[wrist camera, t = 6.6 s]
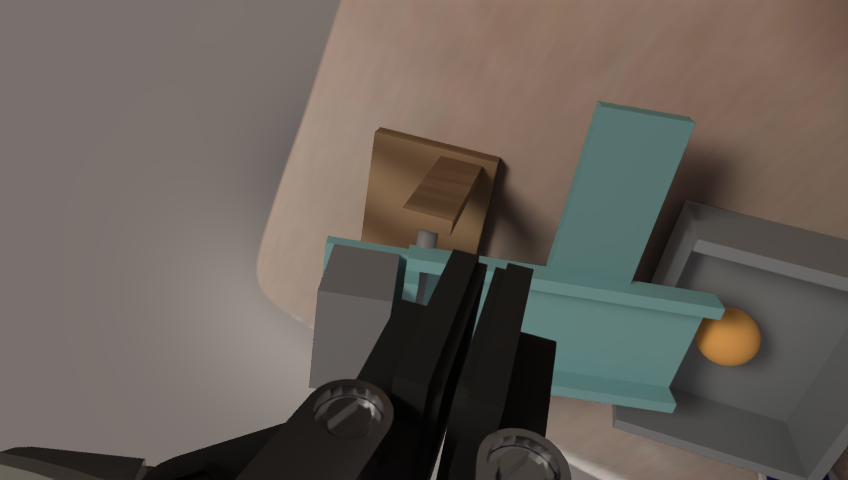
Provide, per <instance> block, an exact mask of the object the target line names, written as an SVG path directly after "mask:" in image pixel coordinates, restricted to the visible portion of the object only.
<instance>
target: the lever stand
mask: <svg viewBox="0 0 848 480" xmlns="http://www.w3.org/2000/svg"><path fill="white" fill-rule="evenodd" d="M499 162H500V157H496V156H492V155H488V154H484V153H480V152H477V151H473V150H469V149H465V148H461V147H457V146H453V145H449V144H445V143H441V142H437V141H433V140H429V139H425V138H421V137H417V136H413V135H409V134H405V133H401V132H397V131H393V130H389V129H385V128H381V127H380V128H379V129H378V130H377V131H375V136H374V143H373V151H372V159H371V167H370V175H369V183H368V190H367V198H366V206H365V214H364V222H363V230H362V237H361V241H362V242H368V243H375V244H381V245H387V246H393V247H399V248H405V249H409V246H410V244H411V245H416V243H417V238H418V232H419V229H423V230H426V231H430V232H433V233H437V234H438V239H437V244H436V249H441V250H447V251H453V249H457V250H460V251H464V252H468V253H472V254H476V255H477V252H478V248H479V244H480V240H481V236H482V232H483V228H484V223H485V219H486V215H487V211H488V207H489V203H490V199H491V195H492V190H493V186H494V182H495V178H496V174H497V170H498V166H499Z"/></svg>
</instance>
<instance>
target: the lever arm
mask: <svg viewBox="0 0 848 480" xmlns="http://www.w3.org/2000/svg"><path fill="white" fill-rule="evenodd" d="M694 126H695V122H694V121H693V120H692V119H691V118H689V117H686V116H680V115H674V114H669V113H663V112H657V111H652V110H646V109H640V108H635V107H629V106H623V105H618V104H612V103H606V102H600V101H597V105H596V108H595V111H594V114H593V117H592V121H591V124H590V127H589V130H588V133H587V136H586V140H585V143H584V146H583V149H582V152H581V156H580V159H579V162H578V165H577V168H576V172H575V175H574V178H573V181H572V184H571V187H570V191H569V194H568V197H567V200H566V203H565V207H564V210H563V213H562V216H561V219H560V222H559V226H558V229H557V232H556V235H555V238H554V242H553V245H552V248H551V251H550V254H549V258H548V261H547V264H546V266H540V265H534V264H527V263H521V262H515V261H509V260H503V259H497V258H491V257H484V256H479V262H480V263H483V264H487V265H488V267H487V272H486V277H485V281H484V286H483V291H482V295H481V300H480V304H479V309H478V313H477V318H476V323H475V327H474V332H475V329H476V326H477V323H478V320H479V317H480V314H481V311H482V307H483V304H484V301H485V298H486V295H487V292H488V289H489V286H490V283H491V280H492V277H493V274H494V271H495V268H496V267H499V268H503V269H506V267H507V264H508V263H512V264H516V265H520V266H524V267H528V268H532V269H534V271H533V276H532V281H531V285H530V290H529V295H528V299H527V304H526V308H525V313H524V318H523V322H522V327H521V332H524V333H528V334H532V335H536V336H539V337H543V338H547V339H550V340H554V341H556V342H557V346H556V355H555V363H554V371H553V379H552V387H551V395H556V396H562V397H569V398H575V399H582V400H588V401H595V402H601V403H608V404H614V405H621V406H628V407H634V408H641V409H647V410H654V411H660V412H667V413H673V411H674V409H675V407H676V405H677V404H676V402H675V400H674V398H673V396H672V393H671V391H670V389H669V386H670V384H671V382H672V380H673V378H674V376H675V374H676V372H677V370H678V368H679V366H680V364H681V362H682V360H683V358H684V356H685V354H686V352H687V350H688V348H689V346H690V343H691V341H692V339H693V337H694V335H695V333H696V331H697V329H698V327H699V325H700V323H701V321H702V319H703V317H704V318H710V319H716V320H720V319H721V317H722V315H723V313H724V311H725V308H724V306H723V305H722V303H721V302H720V301H719V299H718V298H717V296H716V295H715V294H712V293H706V292H700V291H694V290H687V289H681V288H675V287H669V286H663V285H657V284H650V283H644V282H638V281H632V279H633V276H634V274H635V271H636V269H637V267H638V264H639V262H640V259H641V257H642V254H643V252H644V249H645V247H646V244H647V242H648V239H649V237H650V234H651V232H652V229H653V227H654V225H655V222H656V220H657V217H658V215H659V212H660V210H661V207H662V205H663V202H664V200H665V197H666V195H667V192H668V190H669V188H670V185H671V183H672V180H673V178H674V175H675V173H676V170H677V168H678V165H679V163H680V160H681V158H682V155H683V153H684V150H685V148H686V146H687V143H688V141H689V138H690V136H691V133H692V131H693V128H694ZM437 239H438V234H437V233H433V232H430V231H426V230H423V229H419V232H418V238H417V243H416V245H411V244H410V246H409V249H405V248H399V247H393V246H387V245H381V244H375V243H368V242H362V241H356V240H350V239H344V238H338V237H331V236H328V238H327V241H326V247H325V258H324V269H323V277H322V280H321V283H320V286H319V288H318V294H317V305H316V316H315V327H314V339H313V349H312V360H311V373H310V383H309V388H315V389H317V388H319V387H320V386H322V385H324V384H326V383H328V382H331V381H335V380H340V379H356V378H357V376H358V375H359V373H360V371H361V369H362V367H363V366H364V364H365V362H366V360H367V358H368V356H369V355H370V353H371V351H372V349H373V347H374V345H375V344H376V342H377V340H378V338H379V336H380V335H381V333H382V331H383V329H384V327H385V325H386V324H387V322H388V320H389V318H390V316H391V315H392V313H393V311H394V309H395V307H396V305H397V304H398V302H399V301H400V300H401V299H403V300H407V301H411V302H414V303H418V304H422V305H425V306H427V304H428V302H429V300H430V297H431V295H432V293H433V291H434V289H435V287H436V285H437V283H438V281H439V278H440V276H441V274H442V272H443V270H444V268H445V266H446V264H447V261H448V259H449V257H450V255H451V253H452V251H447V250H441V249H436V244H437ZM474 332H473V335H474ZM472 338H473V336H472Z"/></svg>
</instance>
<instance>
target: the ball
mask: <svg viewBox="0 0 848 480" xmlns="http://www.w3.org/2000/svg"><path fill="white" fill-rule="evenodd" d="M724 308H725V311H724V313H723V315H722V317H721V319H720V320H716V319H710V318H704V317H703V319H702V321H701V323H700V325H699V327H698V329H697V331H696V333H695V339H696V343H697V346H698V348H699V350H700V351H701V352H702V354H703V355H704V356H705V357H706V358H708V359H709V360H710V361H712V362H714V363H717V364H719V365H723V366H737V365H741V364H744V363H746V362H748V361H749V360H751V359H752V358H753V357H754V356H755V355H756V353H757V352H758V350H759V347H760V343H761V334H760V330H759V327H758V325H757V324H756V322H755V321H754V320H753V318H752V317H751V316H749V315H748V314H747V313H745V312H743V311H741V310H739V309H736V308H732V307H724Z"/></svg>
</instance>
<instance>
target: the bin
mask: <svg viewBox="0 0 848 480" xmlns="http://www.w3.org/2000/svg"><path fill="white" fill-rule="evenodd" d="M650 284H657V285H663V286H669V287H675V288H681V289H687V290H694V291H700V292H706V293H712V294H715V295H716V296H717V298H718V299H719V301H720V302H721V303H722V305H723V306H724V307H732V308H736V309H739V310H741V311H743V312H745V313H747V314H748V315H749V316H751V317H752V318H753V320H754V321H755V322H756V324H757V325H758V327H759V330H760V334H761V343H760V347H759V350H758V352H757V353H756V355H755V356H754V357H753V358H752V359H751V360H749V361H748V362H746V363H744V364H741V365H737V366H723V365H719V364H717V363H714V362H712V361H710V360H709V359H708V358H706V357H705V356H704V355H703V354H702V352H701V351H700V350H699V348H698V346H697V343H696V339H695V335H694V337H693V339H692V341H691V343H690V346H689V348H688V350H687V352H686V354H685V356H684V358H683V360H682V362H681V364H680V366H679V368H678V370H677V372H676V374H675V376H674V378H673V380H672V382H671V384H670V386H669V389H670V391H671V393H672V396H673V398H674V400H675V402H676V404H677V405H676V407H675V409H674V411H673V413H667V412H660V411H654V410H647V409H641V408H634V407H628V406H621V405H614V404H612V405H613V428H617V429H620V430H623V431H626V432H629V433H633V434H636V435H639V436H642V437H645V438H648V439H652V440H655V441H658V442H661V443H664V444H667V445H671V446H674V447H677V448H680V449H683V450H687V451H690V452H693V453H696V454H699V455H702V456H706V457H709V458H712V459H715V460H718V461H722V462H725V463H728V464H731V465H734V466H737V467H741V468H744V469H747V470H750V471H753V472H757V473H760V474H763V475H766V476H769V477H772V478H776V479H779V480H822V479H823V478H824V477H825V475H826V474H827V473H828V471H829V470H830V469H831V467H832V466H833V465H834V463H835V462H836V461H837V459H838V458H839V457H840V455H841V454H842V453H843V451H844V450H845V449H846V447H847V446H848V240H844V239H840V238H836V237H832V236H828V235H824V234H820V233H816V232H812V231H808V230H804V229H800V228H796V227H792V226H788V225H784V224H780V223H776V222H772V221H768V220H764V219H760V218H756V217H752V216H748V215H744V214H740V213H736V212H732V211H728V210H724V209H720V208H716V207H712V206H708V205H704V204H700V203H696V202H692V201H688V200H685V203H684V205H683V208H682V210H681V212H680V215H679V217H678V219H677V222H676V224H675V226H674V229H673V231H672V233H671V236H670V238H669V240H668V243H667V245H666V248H665V250H664V252H663V255H662V257H661V259H660V262H659V264H658V266H657V269H656V271H655V273H654V276H653V278H652V281H651V283H650Z"/></svg>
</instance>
